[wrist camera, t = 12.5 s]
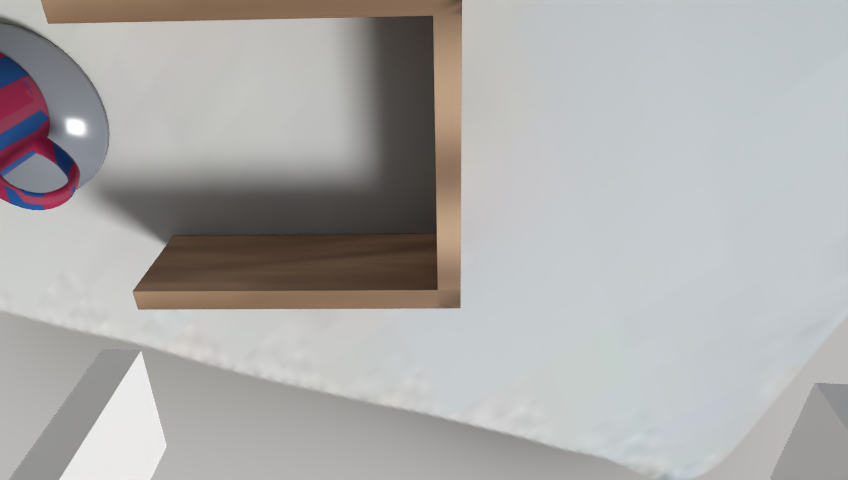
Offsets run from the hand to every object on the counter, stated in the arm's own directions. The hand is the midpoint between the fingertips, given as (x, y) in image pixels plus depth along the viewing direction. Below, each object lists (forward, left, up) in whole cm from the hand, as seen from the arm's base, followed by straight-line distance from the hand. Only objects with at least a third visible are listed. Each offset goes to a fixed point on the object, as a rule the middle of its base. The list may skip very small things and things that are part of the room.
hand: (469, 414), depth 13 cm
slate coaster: (+2, -24, -24) cm, 35 cm away
